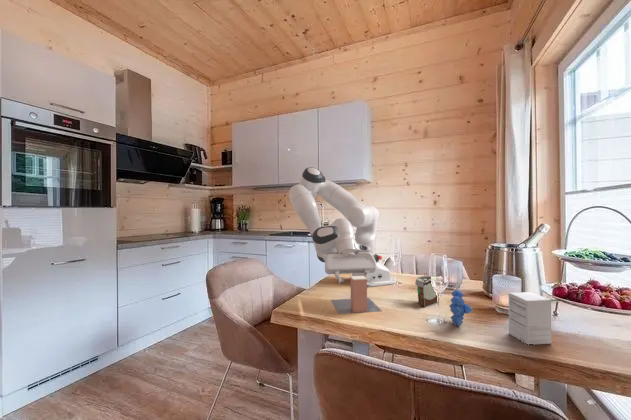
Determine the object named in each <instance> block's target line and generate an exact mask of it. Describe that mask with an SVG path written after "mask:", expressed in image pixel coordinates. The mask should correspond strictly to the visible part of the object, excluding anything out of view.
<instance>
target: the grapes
mask: <svg viewBox="0 0 631 420" xmlns="http://www.w3.org/2000/svg"><path fill="white" fill-rule="evenodd" d="M451 296H452V297H451V299H450V301H451V304H449V308H450V311H451V313H452V314H453V315H451V316H450V319H451V321H452V323H453V324H454V325H455V326H457V327H460V326H461V325H462V324H464V321H463V320H464V319H465V317H464V316H465V314H466V315H467V314H470V313H471V312H472V311H473V308H472V307H471V306H470V305H469V304H468V303H465V300H464V299H463V297H464V296H465V295H464V294H463V292H462V291H461V290H460V289H455V290H453V291H452V292H451Z"/></svg>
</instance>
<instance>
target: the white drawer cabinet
mask: <svg viewBox="0 0 631 420" xmlns="http://www.w3.org/2000/svg"><path fill="white" fill-rule="evenodd" d="M508 334H509V335H511V336H513V337H514V338H515V337H516V339H517V340H519V341H520V340H521V341H520V342H521V343H523V342H524V344H525V343H526V344H525V345H527V344H528V345H527V346H529V344H533V345H550V343H551V344H552V300H551V299H550V298H548V297H545V296H543V295H539V294H537V293H535V292H530V291H526V292H525V291H523V292H508Z"/></svg>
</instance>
